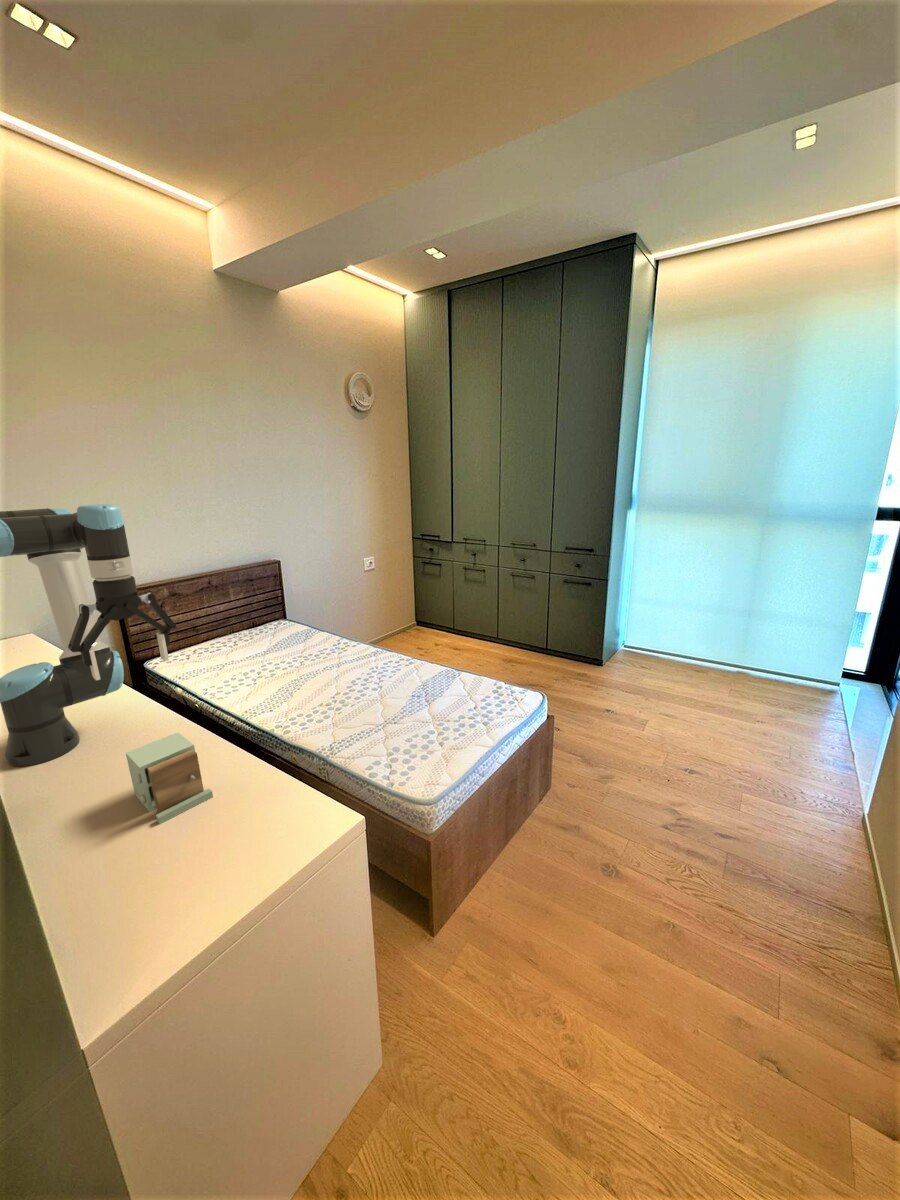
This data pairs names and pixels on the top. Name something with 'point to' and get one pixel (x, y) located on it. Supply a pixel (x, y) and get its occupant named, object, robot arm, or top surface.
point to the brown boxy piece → (175, 780)
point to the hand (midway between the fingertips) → (132, 668)
